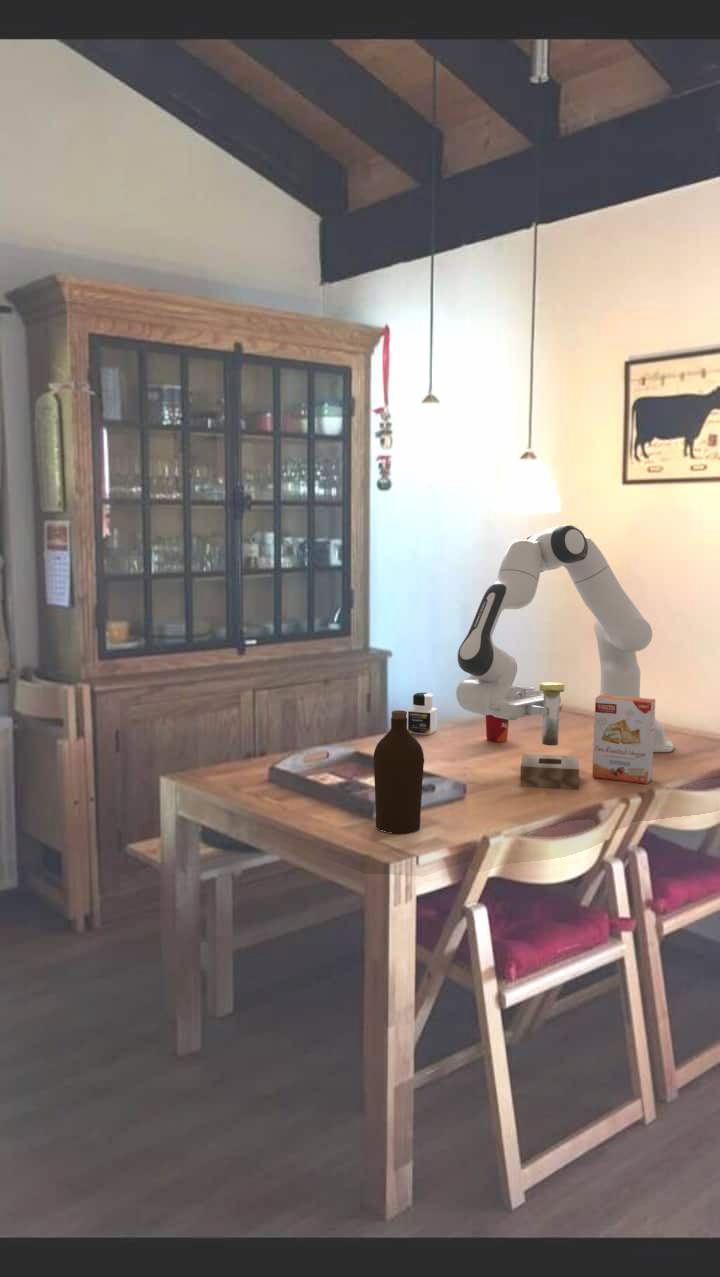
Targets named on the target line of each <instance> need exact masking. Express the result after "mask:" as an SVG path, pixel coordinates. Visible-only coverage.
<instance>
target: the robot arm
mask: <svg viewBox="0 0 720 1277" xmlns="http://www.w3.org/2000/svg"><path fill="white" fill-rule="evenodd" d="M561 567H564V569H566V570H567V572H568V575H569V577H570V579H571V581H572V582H573V584H574V587H575V588H576V590H577V591H578V594H579V595H580V597H581V599H582V601H583V602H584V605H585V606H586V607H587V608H588V610H589V611H590V612H591V613H592V614H593V616H594V617H595V618H596V619H595V621H594V623H593V632H594V633H595V636H596V640H597V649H598V656H599V664H600V694H599V695H601V694H602V695H614V696H624V697H635V698H641V697H640V694H641V693H640V692H641V669H640V666H639V663H638V658H637V653H636V652H640V651H642V650H644V649H646V648H647V647H648V646H649V645H650V643H651V642H652V640H653V639H652V638H653V629H652V627H651V625H650V623H649V622H648V621H647V620H646V619H645V618H644V616H643V615H642V614H641V612H640V611H639V609H638V608H637V606H636V605H635V604H634V602H633V600H631V598H630V597H629V595H628V594H627V593H626V591H624V589H623V588H622V586H621V584H620V583H619V581H618V579H617V577H616V575H615V573H614V571H613V569H612V568H611V566H610V564H609V563H608V560H607V559H606V557H605V556H604V554H603V552H602V551H601V550H600V549H599V547H598V546H597V545H596V543H595V542H594V541H593V540H592V538H590V537H588V536H587V535H585V534H584V533H583V531H582V530H581V529H580V528H578V527H577V526H574V525H573V524H562V525H558V526H556V527H552V528H551V527H550V528H547V529H544V530H543V531H542V530H541V532H539V533H536V534H534V535H530V536H528V537H527V538H525V539H524V538H522V539H517V540H516V539H515V540H514V541H513V542H511V543H510V544H509V545H508V548H507V549H506V551H505V554H504V556H503V558H502V561H501V564H500V567H499V570H498V575H497V578H496V580H495V582H494V584H491V585H490V586H489V587H488V588H487V590H485V593H483V594H484V595H483V596H482V599H481V601H480V604H479V606H478V608H477V611H476V614H475V615H474V618H473V620H472V622H471V626H470V628H469V631H468V632H467V634H466V636H465V638H464V640H463V641H462V643H461V644H460V646H459V648H458V651H457V664H458V665H459V667H460V668H461V670H463V672H465V673H466V674H470V676H469V677H467V678H466V679H465V680H462V681H461V682H459V683H458V685H457V688H456V700H457V702H458V705H459V706H460V707H461V708H462V709H463V710H465V711H467V712H470V713H472V714H478V715H482V716H486V715H493V716H494V717H497V718H503V719H508V720H509V721H516V720H517V719H520V718H521V719H522V718H526V717H530V716H535V715H541V716H543V715H547V714H549V708H548V707H543V695H544V692H543V691H540V690H535V687H533V686H532V687H531V686H517V685H513V683H514V681H515V678H516V675H517V673H518V664H517V662H516V659H515V658H514V657H512V656H511V655H510V654H509V653H508V652H506V651H505V650H503V649H501V648H499V646H497V645H496V644H494V642H493V634H494V631H495V629H496V626H497V623H498V622H499V619H500V615H501V614H502V612H503V611H504V610H519V609H523V608H525V607H528V605H530V604H531V603H532V602H533V600H534V598H535V596H536V594H537V593H536V592H537V591H538V590H537V589H538V586H539V585H538V584H539V581H540V578H541V577H540V576H541V573H542V572H545V571H546V572H547V571H551V570H556V569H559V568H561ZM561 703H562V697H560V707H559V713H560V712H562V711H563V704H561ZM666 737H667V736H666V731H665V727H664V725H663V724H662V723H661V722H660V721H658V720H657V719H656V718H655V721H654V744H653V753H670V752H673V751H674V744H673V742H672V741H670V740H668V739H667V738H666ZM592 744H593V745H594V740H593V742H592Z"/></svg>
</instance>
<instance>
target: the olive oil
mask: <svg viewBox="0 0 720 1277" xmlns="http://www.w3.org/2000/svg"><path fill="white" fill-rule="evenodd" d="M407 713H408V711H406V710H403V709H402V710H400V709H399V710H398V709H397V710H392V711H391V717H390V726H391V727H390V730H389V731H388V732H387V733H386V734H385V735H384V736H383V737H382V738H381V740H379V742H378V743H377V745H376V746H375V748H374V752H373V774H374V775H373V776H374V779H373V780H374V798H375V802H374V803H375V827H377V828H378V829H379V830H378V829H377V828H376V829H377V830H378V831H380V830H383V831H386V832H392V833H391V834H394V833H404V834H410V832H411V833H415V832H417V831H419V829H421V818H422V817H421V814H422V812H421V811H422V798H423V797H422V795H423V778H424V766H425V765H424V764H425V755H424V751H423V747H422V745H421V743H420V742H419V741H418V740H417V739H416V738H415V736H413V734H412V733H410V732H409V731H408V717H407V716H408V714H407ZM383 831H382V832H383ZM386 832H385V833H386Z"/></svg>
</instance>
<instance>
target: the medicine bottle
mask: <svg viewBox="0 0 720 1277" xmlns="http://www.w3.org/2000/svg"><path fill="white" fill-rule="evenodd" d="M407 713H408V714H407V730H408V731H409V732H410V734H412V735H413V734H416V735H426V736H430V735H432V734H434V733H435V732H437V731H438V708H436V707H434V695H433V694H432V693H429V692H415V693H414V694H413V695H412V708H411V709H408V711H407Z"/></svg>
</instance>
